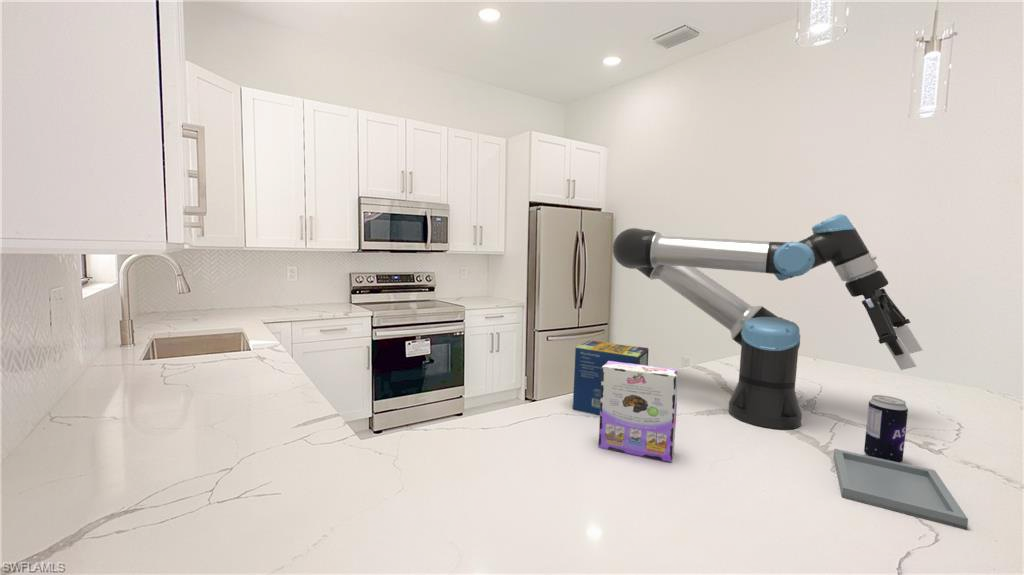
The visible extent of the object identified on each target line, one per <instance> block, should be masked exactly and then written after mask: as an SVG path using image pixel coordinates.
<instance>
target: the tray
mask: <svg viewBox="0 0 1024 575" xmlns="http://www.w3.org/2000/svg"><path fill="white" fill-rule="evenodd" d="M833 460H834V461H833V462H834V465H835V470H836V475H837V480H838V486H839V489H840V495H841V498H844V499H848V500H851V501H855V502H858V503H863V504H867V505H871V506H873V507H874V506H875V507H878V508H883V509H886V510H890V511H894V512H898V513H901V514H905V515H909V516H912V517H916V518H921V519H925V520H928V521H932V522H936V523H939V522H940V524H943V523H945V524H944V525H947V524H949V525H948V526H951V525H952V526H951V527H955V526H956V528H958V527H959V528H958V529H962V528H963V530H966V529H967V530H968V523H969V518H968V517H967V515H966V513H964V510H962V508H961V506H960V505H959V503H958V502H957V501H956V499H955V497H954V495H952V493H951V492H950V490H949V489H948V487H947V486H946V485H945V483H944V481H943V479H942V478H941V477H940V476H939V474H938V472H937V471H936V470H935V469H932V468H926V467H921V466H917V465H912V464H908V463H904V462H900V463H899V462H894V461H890V460H885V459H880V458H876V457H871V456H868V455H867V454H862V453H856V452H852V451H848V450H842V449H838V448H833Z"/></svg>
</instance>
